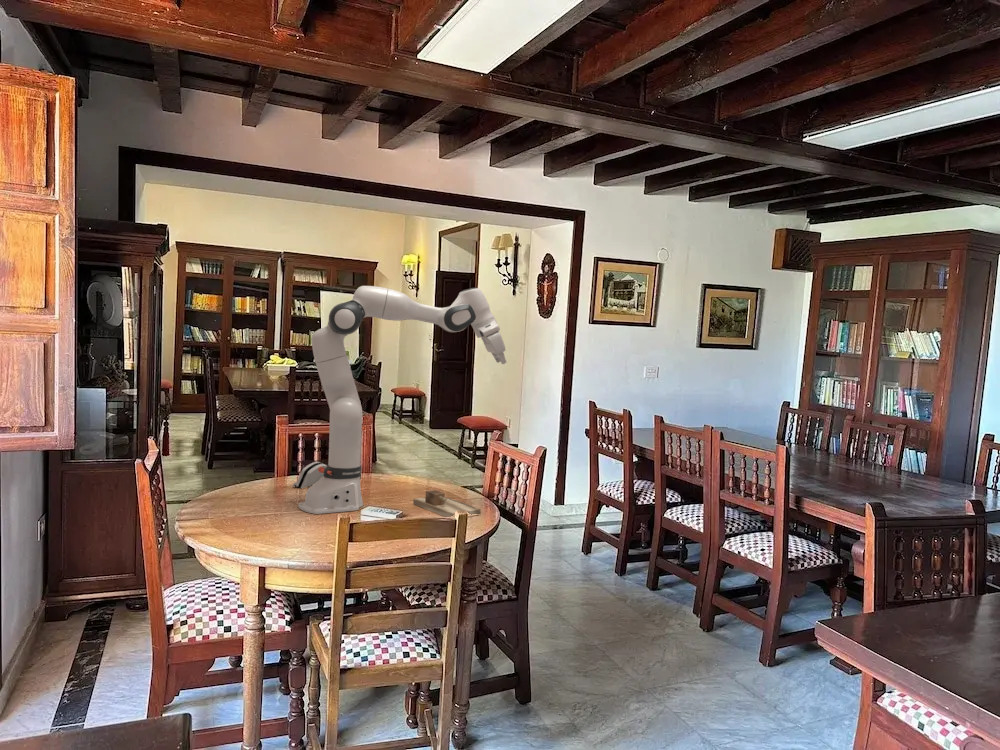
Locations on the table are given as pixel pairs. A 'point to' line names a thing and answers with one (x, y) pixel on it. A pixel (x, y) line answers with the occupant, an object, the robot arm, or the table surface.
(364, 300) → the robot arm
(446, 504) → the board
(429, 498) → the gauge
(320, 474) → the grey curved piece
